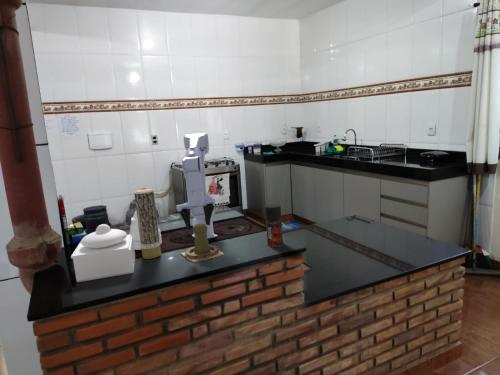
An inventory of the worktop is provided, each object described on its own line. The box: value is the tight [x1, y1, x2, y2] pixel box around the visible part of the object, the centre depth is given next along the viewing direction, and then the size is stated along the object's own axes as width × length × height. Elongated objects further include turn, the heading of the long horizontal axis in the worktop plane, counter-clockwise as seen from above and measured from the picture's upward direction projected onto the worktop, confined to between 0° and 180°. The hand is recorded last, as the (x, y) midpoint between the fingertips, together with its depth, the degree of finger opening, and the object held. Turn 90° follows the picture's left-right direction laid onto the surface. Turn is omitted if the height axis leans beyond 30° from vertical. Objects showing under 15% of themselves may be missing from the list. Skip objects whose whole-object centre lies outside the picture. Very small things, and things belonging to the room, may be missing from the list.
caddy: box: [180, 244, 225, 264], centre depth 133 cm, size 12×12×2 cm
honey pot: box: [128, 210, 163, 251], centre depth 150 cm, size 13×13×18 cm
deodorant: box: [264, 203, 284, 248], centre depth 137 cm, size 6×6×15 cm
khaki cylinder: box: [192, 224, 211, 254], centre depth 132 cm, size 6×6×11 cm
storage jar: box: [82, 205, 109, 235], centre depth 163 cm, size 10×10×15 cm
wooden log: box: [133, 188, 162, 260], centre depth 134 cm, size 7×7×25 cm
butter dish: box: [70, 224, 136, 283], centre depth 125 cm, size 18×18×16 cm
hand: (198, 226), depth 133 cm, fingers open, 7 cm apart
